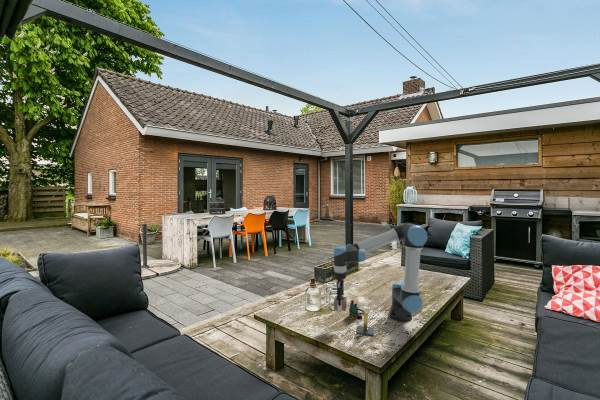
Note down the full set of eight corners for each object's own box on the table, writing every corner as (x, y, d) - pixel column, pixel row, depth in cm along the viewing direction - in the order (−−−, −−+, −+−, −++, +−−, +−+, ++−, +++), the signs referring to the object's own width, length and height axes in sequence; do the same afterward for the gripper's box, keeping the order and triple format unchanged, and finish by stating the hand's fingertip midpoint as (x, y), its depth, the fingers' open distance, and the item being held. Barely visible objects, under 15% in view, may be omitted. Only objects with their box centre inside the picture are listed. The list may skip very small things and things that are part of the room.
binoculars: (367, 303, 205) (354, 304, 202) (365, 319, 206) (352, 320, 202) (360, 299, 214) (347, 299, 210) (358, 313, 214) (346, 314, 211)
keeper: (374, 329, 191) (374, 309, 190) (373, 336, 182) (374, 316, 181) (357, 327, 193) (358, 308, 193) (356, 333, 185) (357, 314, 184)
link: (346, 306, 194) (346, 297, 194) (345, 310, 187) (345, 301, 187) (335, 305, 196) (335, 296, 195) (334, 309, 189) (333, 300, 189)
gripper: (336, 266, 201) (336, 300, 202) (331, 276, 181) (332, 313, 183) (347, 267, 199) (348, 301, 200) (344, 277, 179) (344, 315, 181)
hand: (340, 307), depth 192 cm, fingers closed on link, 7 cm apart
